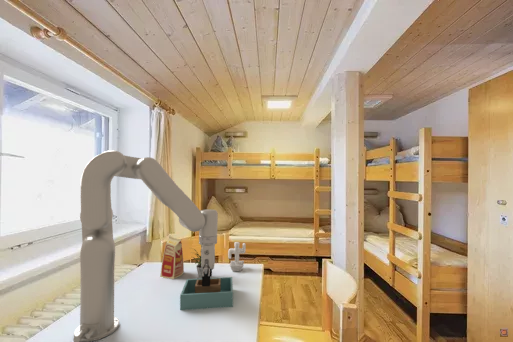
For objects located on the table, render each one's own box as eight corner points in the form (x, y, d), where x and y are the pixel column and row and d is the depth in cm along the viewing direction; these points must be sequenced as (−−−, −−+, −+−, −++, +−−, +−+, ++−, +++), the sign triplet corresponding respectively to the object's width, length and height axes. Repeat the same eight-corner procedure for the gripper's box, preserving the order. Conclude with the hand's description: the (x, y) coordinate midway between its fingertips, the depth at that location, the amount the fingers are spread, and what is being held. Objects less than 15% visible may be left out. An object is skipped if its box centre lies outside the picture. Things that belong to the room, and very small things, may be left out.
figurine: (228, 267, 139) (228, 240, 140) (245, 267, 140) (245, 240, 140) (227, 272, 132) (227, 244, 133) (245, 272, 133) (245, 243, 133)
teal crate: (232, 307, 97) (232, 292, 97) (180, 311, 95) (180, 295, 95) (232, 290, 112) (232, 276, 112) (186, 292, 110) (186, 279, 110)
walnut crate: (220, 301, 101) (220, 284, 101) (194, 302, 100) (194, 286, 100) (220, 293, 108) (220, 278, 108) (196, 294, 106) (197, 279, 107)
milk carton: (160, 277, 126) (160, 237, 127) (171, 270, 135) (171, 233, 135) (175, 279, 123) (175, 238, 124) (186, 272, 132) (186, 234, 133)
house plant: (185, 274, 129) (185, 243, 130) (211, 270, 135) (211, 240, 136) (191, 285, 116) (191, 250, 117) (219, 279, 123) (219, 246, 123)
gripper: (216, 244, 96) (215, 289, 95) (217, 234, 113) (217, 273, 113) (196, 245, 95) (195, 290, 95) (201, 235, 112) (200, 273, 112)
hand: (207, 281), depth 104 cm, fingers open, 9 cm apart
